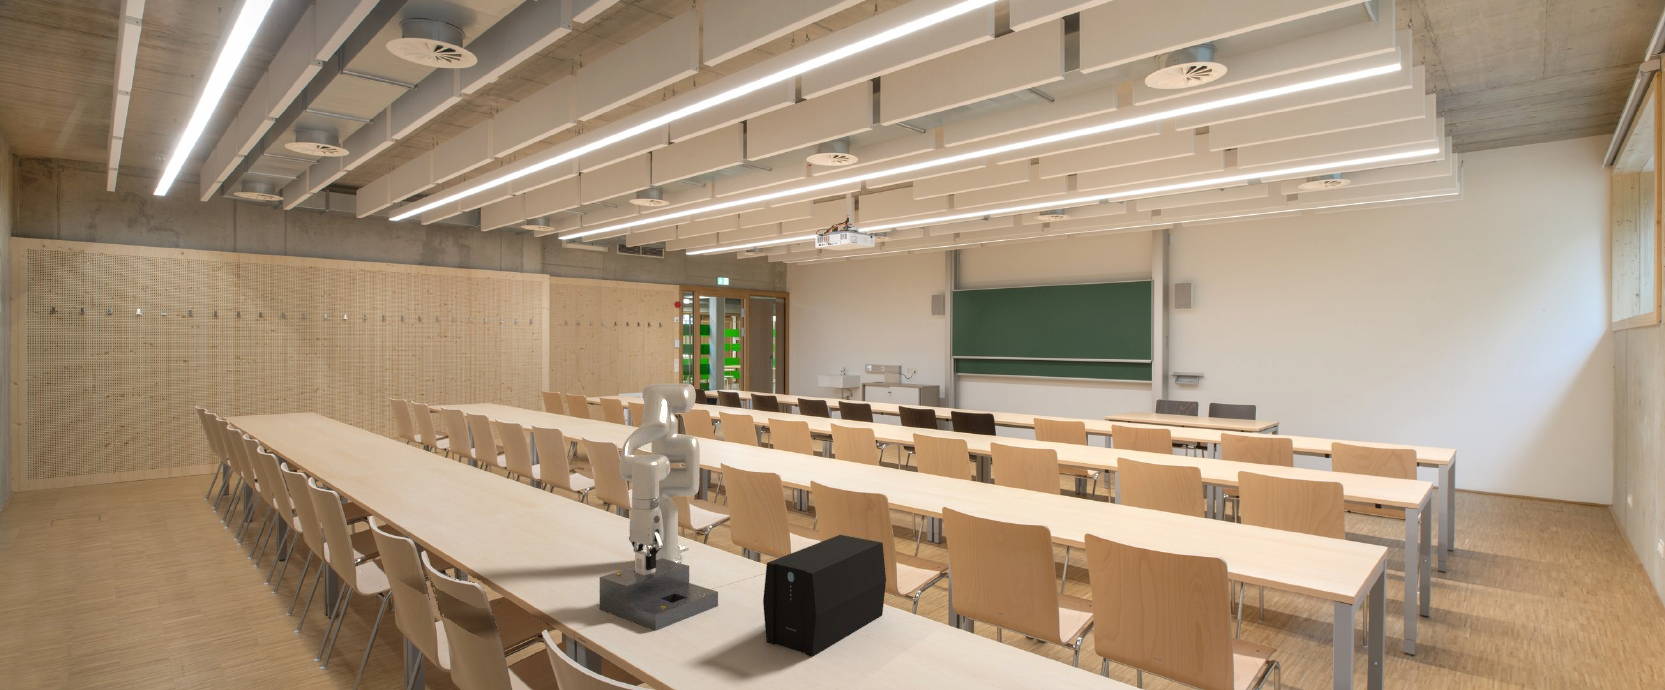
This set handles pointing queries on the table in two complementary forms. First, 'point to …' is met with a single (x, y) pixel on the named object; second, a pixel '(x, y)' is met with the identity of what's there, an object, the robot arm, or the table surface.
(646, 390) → the robot arm
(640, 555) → the plug
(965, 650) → the table surface
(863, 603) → the uninterruptible power supply
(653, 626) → the panel
